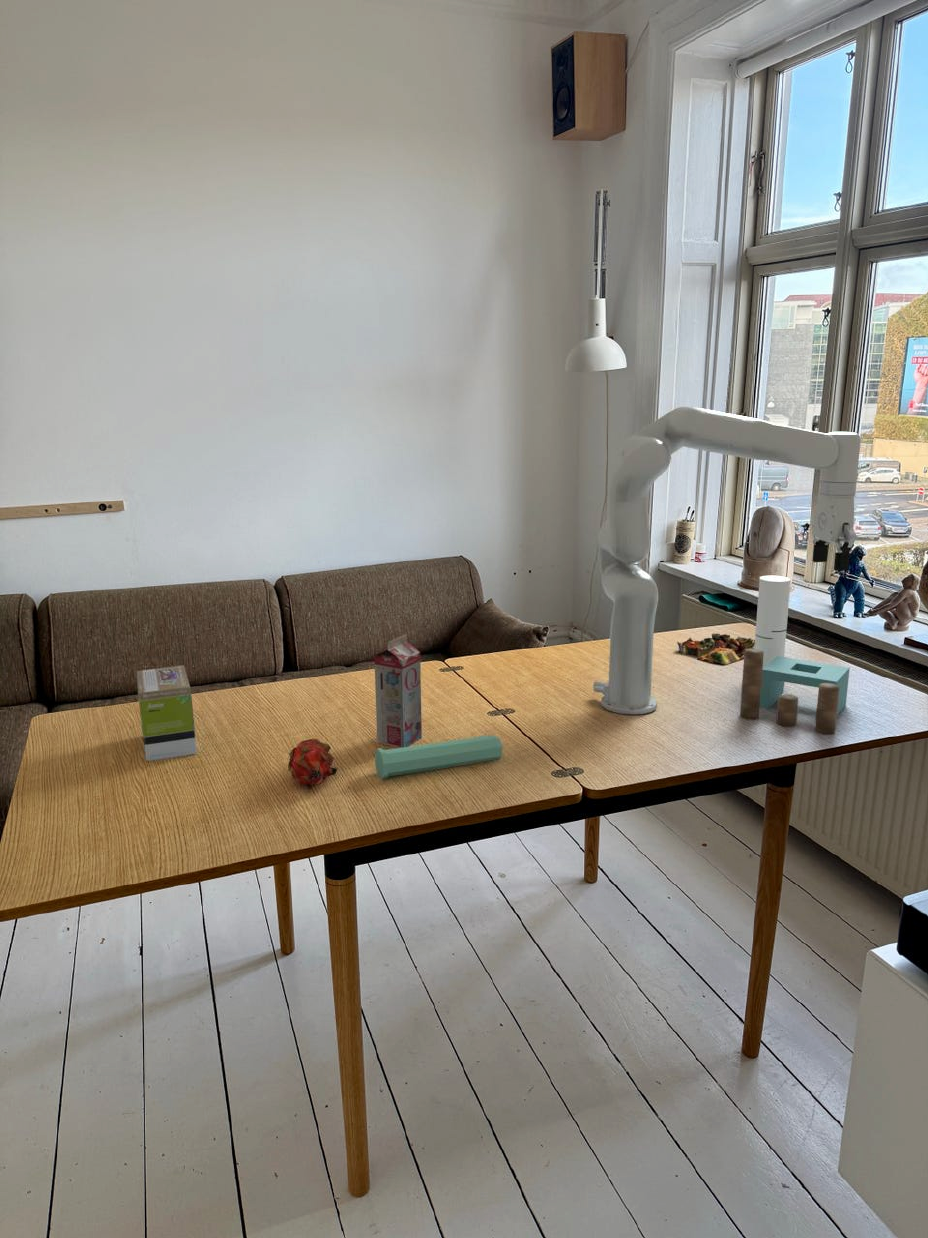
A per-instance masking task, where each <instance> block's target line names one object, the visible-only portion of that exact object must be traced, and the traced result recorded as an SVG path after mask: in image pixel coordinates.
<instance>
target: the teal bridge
mask: <svg viewBox="0 0 928 1238" xmlns="http://www.w3.org/2000/svg"><path fill="white" fill-rule="evenodd" d="M850 669H851V668H850V667H849V666H844V665H843V666H842V665H835V664H829V663H824V662H818V661H817V662H816V661H811V660H804V659H798V658H791V657H785V656H784V657H780V656H777V657H776V658H775V659H774V660H772V661H771V662H770V663H769V664H768V665H767V666H765V667H764V668H763V670H762V683H761V695H760V708H761V709H765V708H768V709H769V708H771V707H772V706H773V705H774V704H775V703H777V702H778V698H779V695H782V694H783V695H784V689H785V688H784V687H785V683H789V684H796V685H801V686H808V687H812V688H818V689H819V684H822V683H830V684H835V685H838V686H839V687H840V689H839V699H838V708H837V717H838V715H840V713H841V712H842V711H843V710H844V708H845V707H846V706H847V697H848V687H849V680H850V679H849V678H850ZM760 708H759V709H760Z"/></svg>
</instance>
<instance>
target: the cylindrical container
mask: <svg viewBox="0 0 928 1238" xmlns="http://www.w3.org/2000/svg"><path fill="white" fill-rule="evenodd" d="M791 579H792V578H790V577H788V576H782V575H772V574H771V575H762V576H759V583H758V597H757V598H758V599H757V606H756V607H757V609H756V611H757V612H756V621H755V635H754V640H755V646H754V647H753V649H760V650H762V651H764V657H763V668H764V667H765V666H767V665H768V664H769V663H770V662H771V661H772V660H774V659H775V658H776V657H777V656H780V657H785V651H786V641H787V627H788V617H789V616H788V615H789V606H790V605H789V603H790V593H791V591H790V590H791V581H792V580H791Z"/></svg>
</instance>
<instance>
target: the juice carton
mask: <svg viewBox="0 0 928 1238" xmlns="http://www.w3.org/2000/svg"><path fill="white" fill-rule="evenodd" d="M386 646H387V647H386V648H387V649H385V650H383V651H381V652H379V653H377V654H376V655H374V659H373V660H374V685H375V687H374V688H375V691H374V692H375V715H376V718H375V719H376V743H378V744H382V745H386V746H391V747H394V748H403V747H410V746H412V745H413V744H415V743H416V742H417V741H419V740H420V739H422V738H423V737H422V736H423V730H422V729H423V727H422V725H423V724H422V684H421V683H422V682H421V681H422V680H421V675H422V673H421V670H422V669H421V652H420V651H419V649H417V648H416V647H414V646H413V645H412V644H411V643H409V642H408V634H407V633H406V634H404V635H401V636H399V637H396V638H394V639H392V640H389V641H388V642H387V644H386Z"/></svg>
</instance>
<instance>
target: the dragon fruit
mask: <svg viewBox="0 0 928 1238" xmlns="http://www.w3.org/2000/svg"><path fill="white" fill-rule="evenodd" d="M330 750H331V746H330V744H328V743H324V742H323V741H322V742H321V741H320V739H318V738H309V739H306V740H301V741H300V742H299V743H298V744H297V746H296V747H293V749H291V751H290V752H289V753H288V756H289V762H288V765H287V770H288V772H290V774H291V777H292V779H293V780H297V782H298V783H299V784H300V785H301V786H302V787H303V788H305V789H308V790H309V789H310V790H311V787H313V785H316V786H319V785H322V783H324V782H325V781H326V780H327V778H328V777H331V776H335V775H336V774H337V772H338V770H339V769H338V767H332V766H333V763H334V759H335V757H334V756H333V755H332V754H331V753H330Z"/></svg>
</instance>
